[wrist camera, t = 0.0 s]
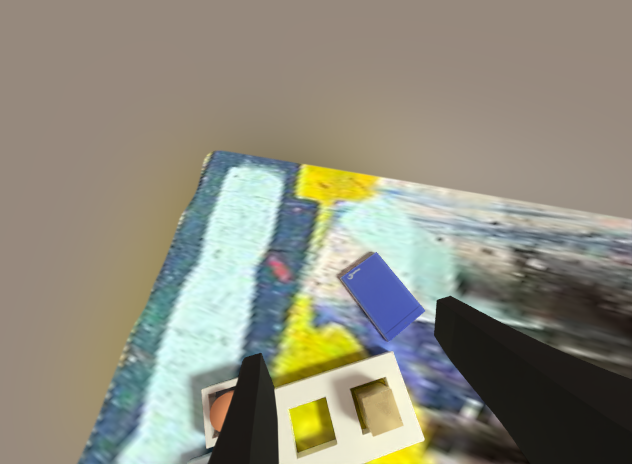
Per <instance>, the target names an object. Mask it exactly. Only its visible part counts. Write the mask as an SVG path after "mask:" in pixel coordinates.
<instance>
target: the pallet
mask: <svg viewBox="0 0 632 464" xmlns="http://www.w3.org/2000/svg"><path fill="white" fill-rule="evenodd" d="M380 378H383V379H384V382H385V385H386V386H387V387H389V388H391V390H392V393H393V395H394V398H395V401H396V404H397V407H398V410H399V413H400V416H401V419H402V422H403V425H404V426H402V427H399V428H396V429H393V430H391V431H388V432H385V433H382V434H380V435H377V436H374V437H373V436H372V434H371V433H370V432H369V430H368V429H367V428H365V429H362V430H361V427H360V423H359V420H358V416H357V413H356V409H355V406H354V402H353V399H352V395H351V392H350V388H353V387H356V386H359V385H362V384H365V383H368V382H371V381H374V380H377V379H380ZM274 390H275V398H276V407H277V415H278V443H279V464H363V463H366V462H368V461H371V460H373V459H376V458H379V457H381V456H384V455H387V454H389V453H392V452H395V451H397V450H400V449H403V448H405V447H408V446H410V445H413V444H416V443H418V442H421V441H424V440H425V439H424V437H423V434H422V431H421V428H420V426H419V423H418V420H417V417H416V414H415V412H414V409H413V406H412V403H411V401H410V398H409V395H408V392H407V389H406V387H405V384H404V381H403V378H402V375H401V373H400V370H399V367H398V364H397V362H396V359H395V356H394V353H393V352H392V351H388V352H385V353H381V354H378V355H375V356H372V357H369V358H366V359H363V360H360V361H357V362H353V363H350V364H347V365H344V366H341V367H338V368H335V369H332V370H328V371H325V372H322V373H319V374H316V375H313V376H310V377H307V378H304V379H300V380H297V381H294V382H291V383H288V384H285V385H282V386H279V387H275V388H274ZM323 397H326V400H327V404H328V408H329V412H330V416H331V420H332V424H333V428H334V432H335V436H336V439H335V440H332V441H329V442H326V443H323V444H321V445H318V446H315V447H312V448H310V449H307V450H304V451H301V452H298V453H297V448H296V443H295V438H294V432H293V427H292V422H291V417H290V412H289V409H291V408H294V407H297V406H299V405H302V404H305V403H308V402H311V401H314V400H317V399H320V398H323Z"/></svg>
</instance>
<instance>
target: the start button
mask: <svg viewBox="0 0 632 464" xmlns="http://www.w3.org/2000/svg"><path fill="white" fill-rule="evenodd" d="M233 393H234V390H232V391H229V392H227V393H225V394H223V395H222V396H220V397H219V398H218V399H216V401H215V402H214V403H213V405H212V407H211V410H210V422H211V424H212V426H213V428H214V429H215V430H217V431H219V432H220V430H221V428H222V425H223V422H224V419H225V416H226V413H227V411H228V408H229V405H230V402H231V399H232V396H233Z"/></svg>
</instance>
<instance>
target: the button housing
mask: <svg viewBox="0 0 632 464" xmlns="http://www.w3.org/2000/svg"><path fill="white" fill-rule="evenodd" d="M237 380H238V377H237V378H234V379H230V380H227V381H224V382H221V383H217V384H214V385H211V386H208V387H206V388H204V389H202V390H201V391H202V403H203V415H204V427H205V439H206V449H207V448H210V447H213V446H215V443H216V441H217V438H218V436H219V433H220V432H219V431H217V430H215V429H214V428H213V426H212V424H211V422H210V410H211V407H212V405H213V403H214V402H215V401H216V392H217V391H221V390H224V389H227V388H230V387H233V386H236V383H237Z"/></svg>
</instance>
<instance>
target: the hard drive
mask: <svg viewBox="0 0 632 464" xmlns="http://www.w3.org/2000/svg"><path fill="white" fill-rule="evenodd" d="M340 279H341V281H342V282H343V283H344V285H345V286H346V287H347V289H348V290H349V291H350V293H351V294H352V295H353V297H354V298H355V299H356V301H357V302H358V303H359V305H360V306H361V307H362V309H363V310H364V311H365V313H366V314H367V315H368V317H369V318H370V319H371V321H372V322H373V323H374V325H375V326H376V327H377V329H378V330H379V331H380V333H381V334H382V335H383V337H384V338H385V339H386V341H387V342H389V341H390V340H392V339H393V338H394V337H395V336H396V335H398V334H399V333H400V332H401V331H402V330H403V329H405V328H406V327H407V326H408V325H409V324H410V323H412V322H413V321H414V320H415V319H416V318H418V317H419V316H420V315H421V314H422V313H423V312H425V310H424V309H423V307H422V306H421V305H420V304H419V303H418V301H417V300H416V299H415V298H414V297H413V295H412V294H411V293H410V292H409V291H408V289H407V288H406V287H405V286H404V285H403V283H402V282H401V281H400V280H399V278H398V277H397V276H396V275H395V274H394V273H393V271H392V270H391V269H390V268H389V267H388V265H387V264H386V263H385V262H384V261H383V259H382V258H381V257H380V256H379V254H378V253H377V252H376V253H374V254H373V255H371V256H370V257H369V258H367V259H366V260H364V261H363V262H362V263H360V264H359V265H357V266H356V267H355V268H353V269H352V270H350V271H349V272H348V273H346V274H345V275H343V276H342V277H341V278H340Z"/></svg>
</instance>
